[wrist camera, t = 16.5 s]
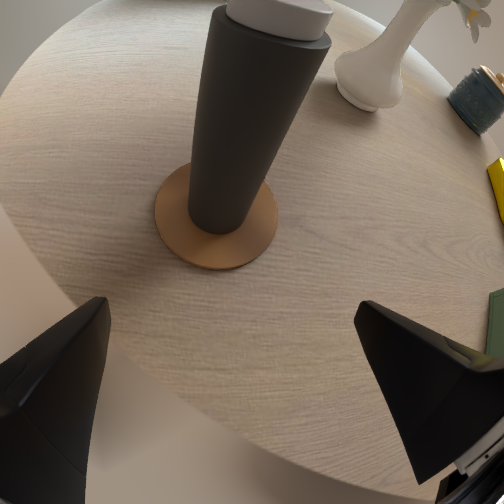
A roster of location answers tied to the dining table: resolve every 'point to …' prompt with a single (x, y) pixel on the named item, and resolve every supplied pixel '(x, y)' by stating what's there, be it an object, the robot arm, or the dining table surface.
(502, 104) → the canister
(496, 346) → the box
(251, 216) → the coaster
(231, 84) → the salt mill
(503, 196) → the element tile
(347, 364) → the dining table surface
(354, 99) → the flower vase
